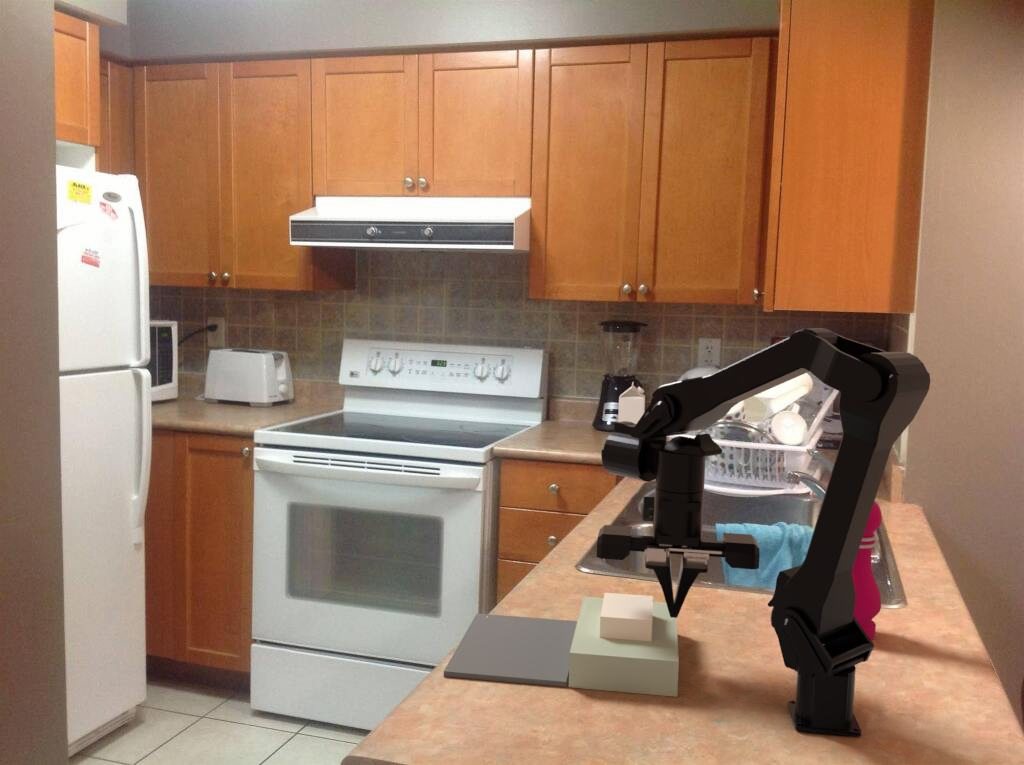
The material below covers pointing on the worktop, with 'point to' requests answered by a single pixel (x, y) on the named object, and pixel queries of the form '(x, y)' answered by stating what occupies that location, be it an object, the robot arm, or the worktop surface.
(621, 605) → the tilted white rectangular prism
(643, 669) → the block
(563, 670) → the mat
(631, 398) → the milk carton
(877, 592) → the pepper mill
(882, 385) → the robot arm
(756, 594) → the worktop surface
